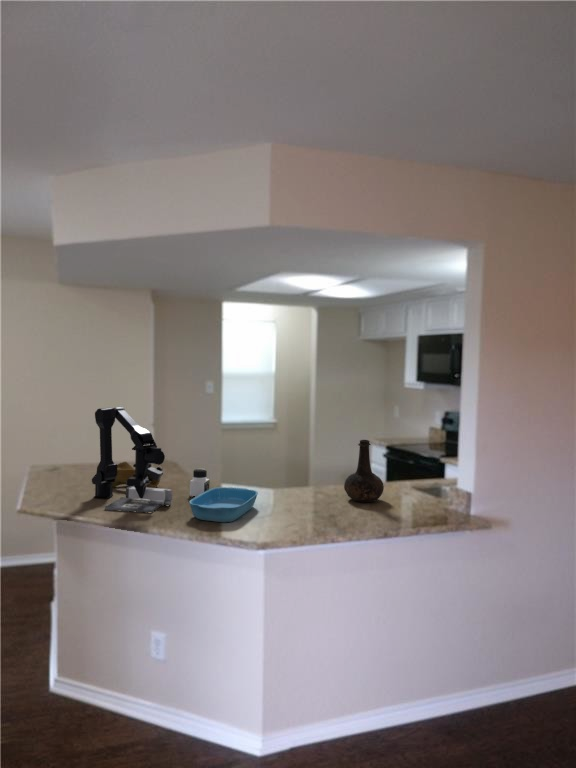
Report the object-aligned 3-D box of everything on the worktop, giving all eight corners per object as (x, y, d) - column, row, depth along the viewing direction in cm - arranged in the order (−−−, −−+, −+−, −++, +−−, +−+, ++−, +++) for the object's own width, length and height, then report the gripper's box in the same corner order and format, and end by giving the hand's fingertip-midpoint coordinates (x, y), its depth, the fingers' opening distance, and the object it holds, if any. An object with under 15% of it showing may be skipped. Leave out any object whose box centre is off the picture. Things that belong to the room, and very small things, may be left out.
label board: (104, 509, 226) (104, 504, 226) (121, 500, 242) (121, 495, 241) (159, 513, 223) (159, 508, 222) (173, 503, 238) (173, 498, 238)
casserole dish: (215, 499, 249) (216, 483, 248) (263, 504, 243) (263, 488, 243) (180, 522, 213) (180, 504, 213) (234, 528, 208) (235, 510, 207)
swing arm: (173, 498, 237) (173, 489, 237) (170, 501, 233) (170, 491, 233) (129, 495, 240) (130, 486, 240) (125, 498, 236) (125, 488, 236)
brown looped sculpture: (130, 464, 281) (163, 463, 271) (127, 490, 277) (160, 489, 267) (102, 458, 266) (135, 456, 255) (98, 485, 262) (132, 484, 252)
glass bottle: (390, 500, 256) (392, 440, 254) (368, 507, 243) (371, 444, 241) (358, 493, 268) (360, 436, 266) (336, 499, 255) (338, 439, 253)
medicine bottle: (204, 497, 250) (204, 471, 250) (189, 496, 251) (189, 470, 251) (209, 493, 257) (210, 468, 257) (194, 492, 258) (195, 467, 258)
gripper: (152, 467, 222) (151, 505, 222) (168, 458, 240) (167, 494, 241) (125, 465, 223) (125, 503, 224) (144, 457, 242) (143, 492, 242)
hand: (141, 498), depth 233 cm, fingers closed
